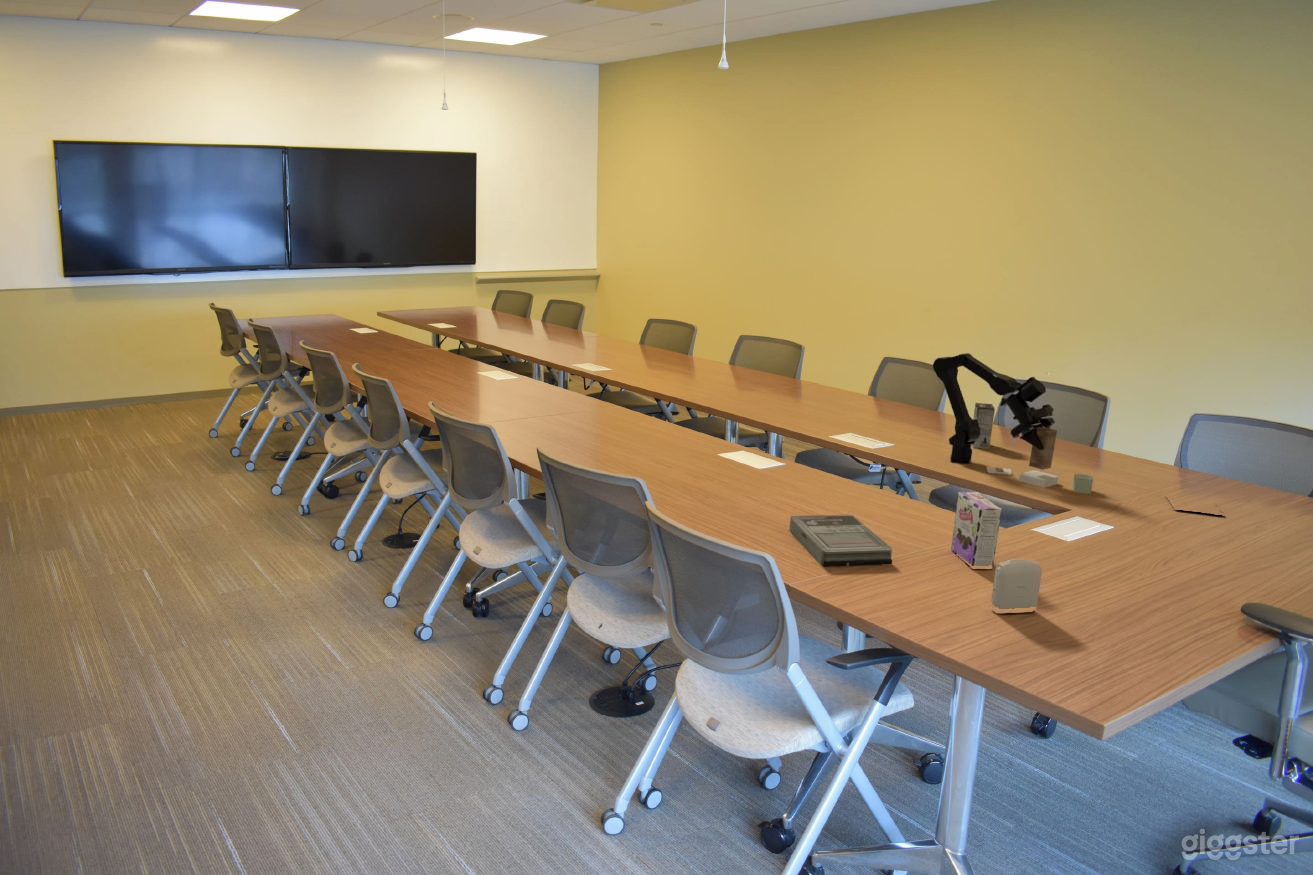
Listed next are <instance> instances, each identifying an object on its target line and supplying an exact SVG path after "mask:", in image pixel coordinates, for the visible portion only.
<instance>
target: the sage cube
mask: <svg viewBox="0 0 1313 875" xmlns="http://www.w3.org/2000/svg"><path fill="white" fill-rule="evenodd" d="M1093 483H1094V478H1093V476H1092V475H1090V474H1089V475H1088V474H1081V473H1080V474H1079V473H1074V475H1073V482H1072V486H1071V487H1072V491H1073V492H1074V493H1078V494H1079V493H1080V494H1089V495H1091V494H1092V488H1093Z"/></svg>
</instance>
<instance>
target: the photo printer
mask: <svg viewBox="0 0 1313 875" xmlns="http://www.w3.org/2000/svg"><path fill="white" fill-rule="evenodd" d="M994 570H995V571H994V577H993V587H992V593H991V601H990V603H991V602H992V605H994V606H995V607H998V608H999V609H1010V608H1011V609H1015V608H1030V607H1037V608H1038V600H1039V593H1040V587H1041V581H1042V580H1041V579H1042V567H1041V564H1040V563H1038V562H1037V561H1036V560H1032V559H1028V558H1015V559H1014V558H1013V559H1008V560H1004V561H1001V562H998V563H997V564H996V566H995V568H994Z"/></svg>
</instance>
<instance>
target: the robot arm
mask: <svg viewBox="0 0 1313 875" xmlns="http://www.w3.org/2000/svg"><path fill="white" fill-rule="evenodd" d="M960 367H963V368H965V369H967V370H968V371H970V372H971V373H973V374H974V375H975V376H977V377H979V378H980V379H982V380H984V381H985V382H986V383H987V384H988V386H989V388H990V389H991V390H992V391H993V392H995V393H996V394H997V395H998V396H1007V395H1009V396H1007V397H1002V398H1001V402H1000V405H999V406H1000V407H1005V406H1008V408H1009V410H1010V411H1011V412H1012V414H1013V415H1014V416H1012V418H1013V420H1014V421H1017V422H1018V423H1019V424H1018V425H1016V426H1015V427H1013V428H1012V429H1010V435H1011V436H1012V438H1013V439H1016V438H1019V439H1020V440H1023V441H1025V442H1026V443H1028V444H1030V445H1031V446H1032V445H1033V446H1035V447H1036V448H1038V449H1039V450H1043V449H1044V448H1043V445H1042V443H1041V441H1040V440H1039V438H1038V436H1037V428H1041V427H1045V428H1049V429H1051V427H1052V426H1053V425H1054V424H1056V421H1055V420H1054V418H1053V417H1051V416H1054V414H1053V412H1054V410H1055V409H1054V408H1053V406H1051V404H1043V405H1042V406H1041V408H1036V407H1034V406H1030V405H1029V403H1033V402H1034V401H1036V400H1037V399H1038V398H1039V397H1041V396H1042V395H1044V394H1046V392H1047V390H1046V386H1045V385H1044V384H1043V383H1042V382H1041V381H1040V380H1038V379H1037V378H1036V377H1034V376H1031V377H1029V378H1028V379H1027V380H1026V381H1025V382H1024V383H1021V382H1018V381H1017V380H1016V379H1015V378H1014V377H1011V376H1009V375H1007V374H1003V373H999V372H997V371H995V370H994V369H992V368H991V367H989V366H988V365H986V364H984V363H983V362H982V361H981V360H979V359H977V358H975V357H974V356H973V354H971V353H968V352H967V353H960V354H958V355H955V356H943V357H937V358H936V359H934V361H933V363H932V369H933V372H934V373H935V375H936V377H937V378H938V379H939V380H940V381H941V382H942V383H943V386H944V389H945V392H946V394H947V397H948V401H949V404H950V406H951V409H952V412H953V415H954V418H955V425H954V432H955V433H954V435H952V436H950V437H949V438H948V442H949V445H950V446H951V455H950V462H951V463H960V464H967V465H968V464H970V462H971V461H972V454H973V448H972V444H974V443H975V441H976V440H977V439H978V438H979V436H980V430H981V428H980V427H979V424H978V420H977V419H974V420H973V418H972V417H971V416H970V413H969V411H968V408H967V404H966V401H965V399H964V396H963V392H962V389H961V387H960V384H959V381H958V373H959V369H958V368H960ZM1016 392H1017V393H1016ZM1020 435H1021V436H1020Z"/></svg>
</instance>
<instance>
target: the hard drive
mask: <svg viewBox="0 0 1313 875" xmlns="http://www.w3.org/2000/svg"><path fill="white" fill-rule="evenodd" d="M789 532H790V534H792V535H793V537H794V538H795V539H796V541H798V542H799V543H800V545H801V546H803V548H805V550H807V552H809V554H810V555H811V556H812V557H813V558H814V559H815V561H816V562H818V564H819V565H821V567H823V568H832V567H834V568H835V567H856V566H857V567H863V566H864V567H865V566H866V567H867V566H883V565H882V564H892V565H893V559H892V552H893V548H892V547H891V546H890V545H889V544H888V543H886V542H885V541H884V540H882V538H880V537H879V536H878V535H877V534H875V533H874V532H873V531H872V530H871V529H870V528H869V527H867V526H866V525H865V524H864V523H863V522H861V520H859V518H857V517H855V516H854V515H853V514H826V515H825V514H824V515H822V514H821V515H817V514H816V515H815V514H814V515H792V516H790V518H789Z"/></svg>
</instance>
